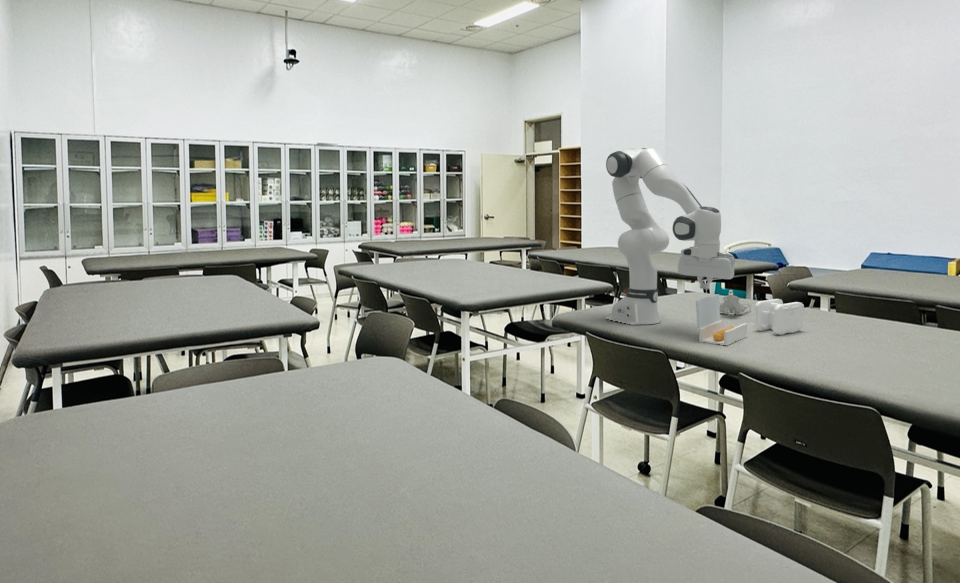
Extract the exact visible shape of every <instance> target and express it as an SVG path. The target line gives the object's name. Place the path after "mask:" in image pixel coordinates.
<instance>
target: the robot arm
mask: <svg viewBox="0 0 960 583" xmlns="http://www.w3.org/2000/svg"><path fill="white" fill-rule="evenodd" d="M605 166H606V167H605V168H606V171H607V173H608V174H609V176H610V177H614V178H613V180H612V183H611V185H612V191H613V192H612V193H613V197H614V200H615V203H616V206H617V209H618V211H619V215H620V219H621V220H622V221H623V222H624V223H625V224H627V225H628V227H630V229H629V230H627V231H625V232H623V233H621V234H620V235H619V237H618V239H617V247H618V249H619V252H621V253H622V255H623V256H624V258H625V259H626V263H627V266H628V271H629V274H628V275H629V287H627V288H626V289H624V290H623V293H625V296H623V298H621V299H619V300H618V301H617V302H616V303H614V304H613V306H612V309H611V313H610V315H606V318H605V320H606V319H609V320H608V321H610V320H613V321H612V322H615V321H618V322H617V323H620V322H622V323H621V324H624V323H626V324H625V325H629V324H630V326H636V325H655V324H658V323H660V322H661V319H660V315H659V309H658V299H659V298H658V297H659V293H658V292H659V289H658V270H657V268H656V267H655V266H654V265H653V263H652V260H651V257H650V256H651V255H655V254H659V253H660V252H662V251H665V250H666V249H667V248H668V246H669V244H670V236H669V233H668V232H667V231H666V230H665V229H663V228H662V227H660V225H658V223H657V222H656V220H655V219H654V218H653V216H652V215H651V213H650V212H649V209H648V207H647V204H646V202H645V199H644V196H643V192H642V190H641V188H640V184H639V180H640V179H642V181H643V182H644V184H645V187H646V188H647V189H648V190H649V191H650V192H651V193H652V194H653V195H655V196H658V197H662V198H666V199H669V200H672V201H673V202H675V203H677V204H678V205H679V206H680V208H681V209H682V210H683V211H684V213H685V214H683V215H681V216H678V217H676V218H675V219H674V221H673V223H672V233H673V235H674V237H675V238H676V239H677V240H679V241H683V242H687V241H694V243H693V244H694V246H689V247H687V248H683V249H681V250H680V255H681V256H680V257H679V260H678V264H677V265H678V266H677V272H678V273H679V275H684V276H693V277H697V278H696V279H697V282H698V283H699V288H700V289H703V290H710V285H711V283H712V282H713V280H714V279H720V280H721V279H723V280H732V279H733V278H734V276H735V259H736V258H735V256H734V254H731V253H728V252H727V253H726V252H720V250H721V249H720V248H721V242H720V234H721V232H722V215H721V212H720V210H719V209H717V208H715V207H712V206H702V205H701V203H700V202H699V201H698V199H697V198H696V197H695V195H694V194H693V193H692V192H691V190H690V189H689V188H688V186H686V185H685V183H683V182H682V181H681V179H680V178H678V176H677V175H676V174H675V172H674V171H673V170H672V168H671V166H670V165H669V164H668V162H667V160H666V159H665V158H664V156H662V154H661V153H660V152H659V151H658V150H657V149H656V148H653V147H648V148H646V147H645V148H644V147H642V148H628V149H625V150H617V151H613V152H612V153H610V154H609V155H608V156H607V159H606V162H605ZM704 278H706V281H707V282H706V283H704Z"/></svg>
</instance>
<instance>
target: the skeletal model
mask: <svg viewBox="0 0 960 583" xmlns="http://www.w3.org/2000/svg"><path fill="white" fill-rule="evenodd" d="M722 299H723V302H722V303H721V302H719V303H720V313H723V314H726V315H729V314H733V315H735V314H736V315H737V314H741V313H744V312H745V311H746V310H747V309H748V308H749V310H750V311H751V309H752V308H751V305H750V304H748V303H740V302H739V301H740V297H739V296H737V295H734V290H733V289H729V291H728V295H725V296H724V297H723V298H722ZM746 305H747V306H746Z"/></svg>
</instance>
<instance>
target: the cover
mask: <svg viewBox="0 0 960 583" xmlns="http://www.w3.org/2000/svg"><path fill="white" fill-rule="evenodd" d="M720 303H721V302H720V294H719V293H718V294H717V293H716V294H714V295H711V296H708V297H705V298H700V299H698V300H696V301H695V308H696V309H695V311H696V326H697V327H696V329H700V328H702V327H705V326H707V325H710V324H712V323H715V322H718V321H720V320H721V312H720Z"/></svg>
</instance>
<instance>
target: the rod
mask: <svg viewBox="0 0 960 583" xmlns="http://www.w3.org/2000/svg"><path fill="white" fill-rule="evenodd" d="M734 327H735V326H729V327H727V328H723V330H721V331H719V332H716V333H715V334H714V335H713V339H714V340H716V341H719V340H722V339H724V332H725V331H727V330H730V329H732V328H734Z"/></svg>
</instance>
